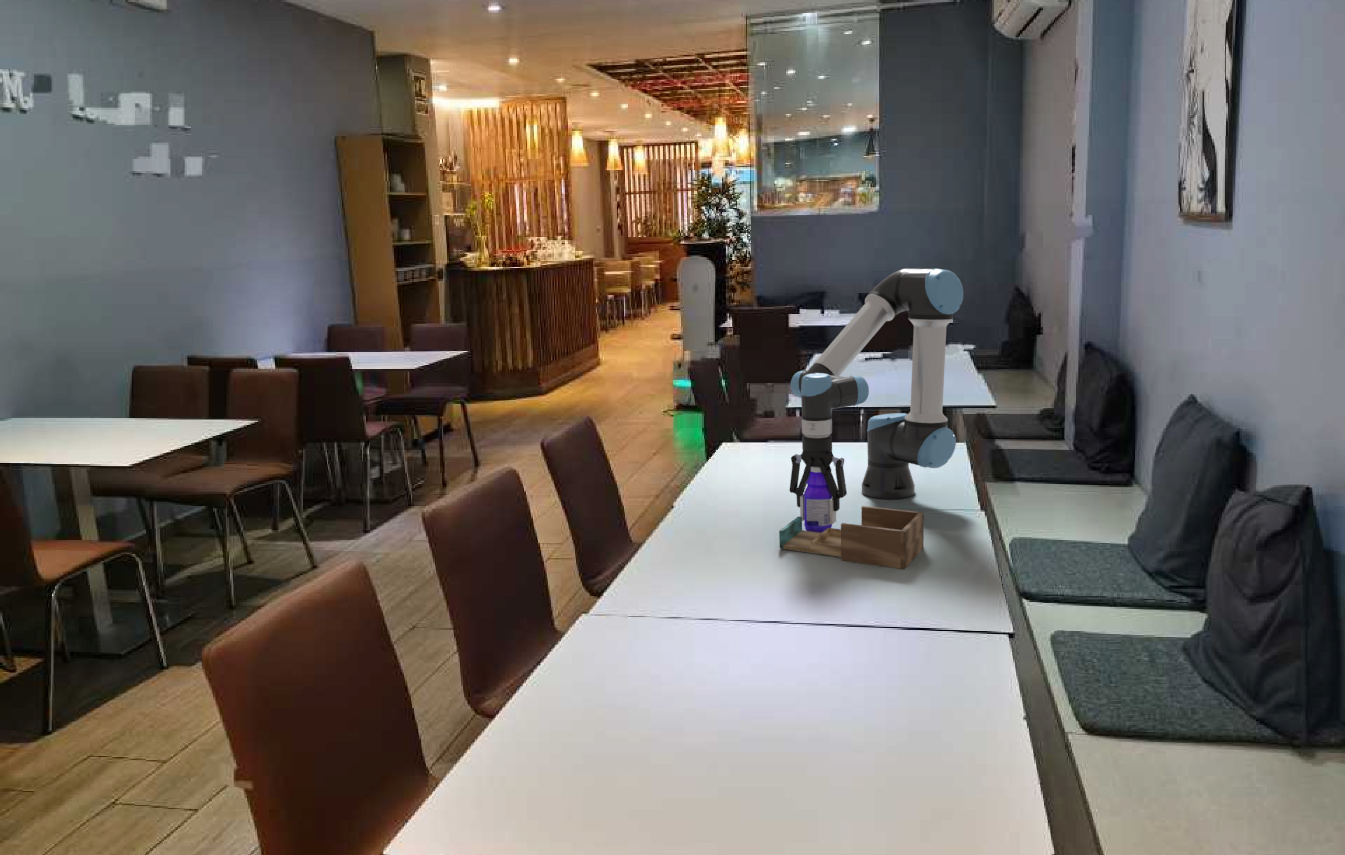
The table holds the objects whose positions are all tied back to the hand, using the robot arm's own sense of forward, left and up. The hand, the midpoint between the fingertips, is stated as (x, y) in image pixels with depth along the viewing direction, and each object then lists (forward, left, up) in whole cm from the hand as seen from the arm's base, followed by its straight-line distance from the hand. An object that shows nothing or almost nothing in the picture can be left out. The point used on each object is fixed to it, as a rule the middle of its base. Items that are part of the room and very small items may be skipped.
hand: (818, 520), depth 250 cm
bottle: (0, 0, -3) cm, 3 cm away
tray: (+11, +7, -2) cm, 13 cm away
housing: (+11, +20, -3) cm, 23 cm away
